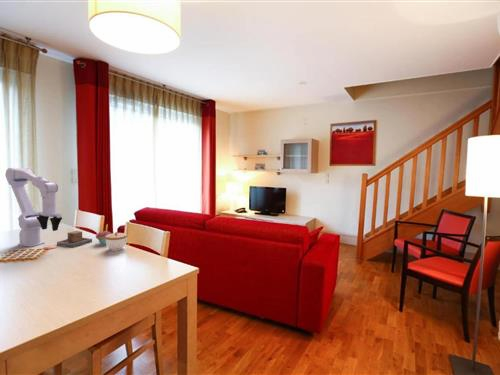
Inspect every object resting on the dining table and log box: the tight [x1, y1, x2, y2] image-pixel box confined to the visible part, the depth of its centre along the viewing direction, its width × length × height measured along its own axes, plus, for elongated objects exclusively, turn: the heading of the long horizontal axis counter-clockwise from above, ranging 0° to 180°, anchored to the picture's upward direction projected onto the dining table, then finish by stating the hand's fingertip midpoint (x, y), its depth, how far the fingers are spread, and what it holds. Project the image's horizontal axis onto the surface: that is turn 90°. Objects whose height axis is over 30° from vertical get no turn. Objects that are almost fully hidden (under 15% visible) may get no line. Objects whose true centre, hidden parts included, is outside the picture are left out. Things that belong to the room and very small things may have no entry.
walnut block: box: [67, 230, 83, 244], centre depth 154 cm, size 5×5×6 cm
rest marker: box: [43, 245, 58, 250], centre depth 145 cm, size 6×6×1 cm
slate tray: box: [56, 236, 93, 248], centre depth 155 cm, size 12×12×2 cm
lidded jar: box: [105, 231, 128, 252], centre depth 147 cm, size 11×11×9 cm
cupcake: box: [95, 223, 112, 245], centre depth 156 cm, size 9×8×12 cm
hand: (49, 229), depth 145 cm, fingers open, 7 cm apart
